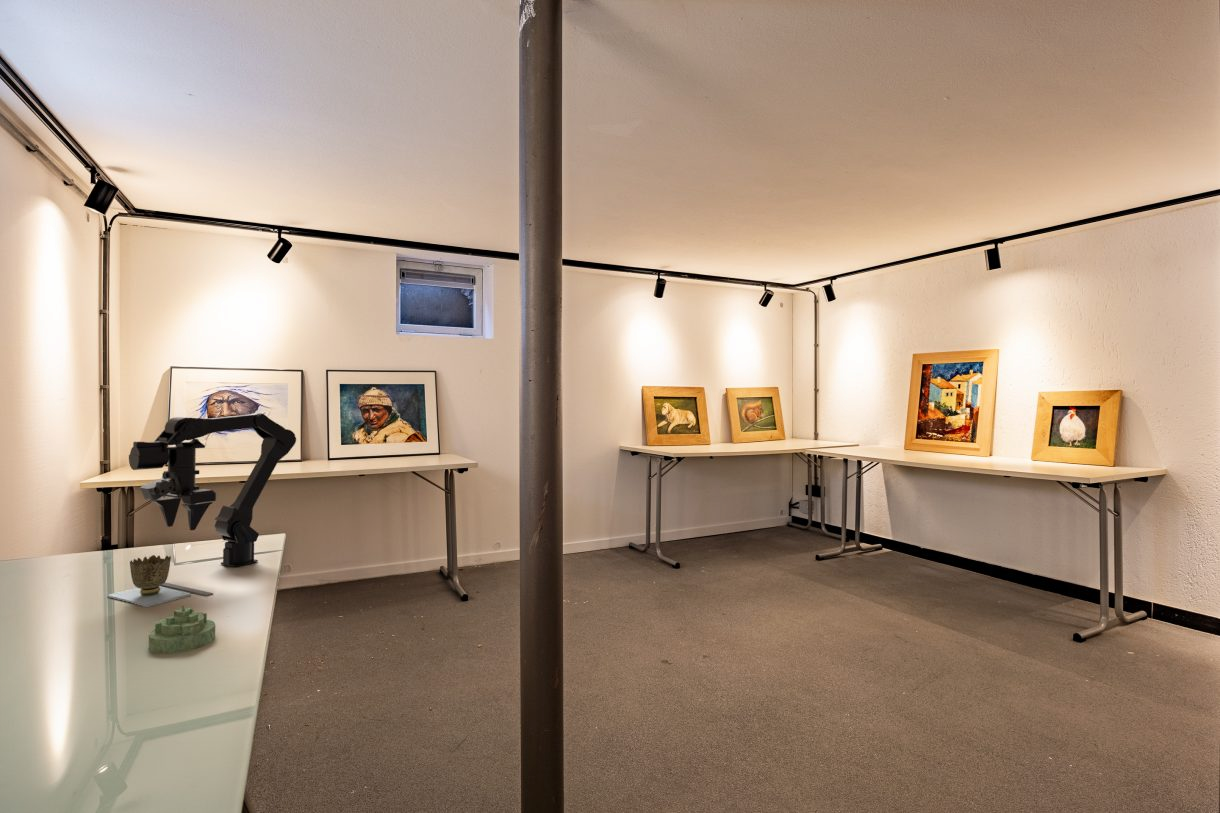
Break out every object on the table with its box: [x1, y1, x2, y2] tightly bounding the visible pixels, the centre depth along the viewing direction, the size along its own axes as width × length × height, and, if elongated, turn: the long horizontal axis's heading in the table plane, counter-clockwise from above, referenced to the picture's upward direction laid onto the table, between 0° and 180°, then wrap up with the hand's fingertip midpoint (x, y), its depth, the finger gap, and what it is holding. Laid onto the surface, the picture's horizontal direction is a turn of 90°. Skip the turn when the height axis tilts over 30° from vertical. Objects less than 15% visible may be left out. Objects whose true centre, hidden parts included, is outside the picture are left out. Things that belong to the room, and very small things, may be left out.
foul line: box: [161, 581, 214, 597], centre depth 142 cm, size 2×22×1 cm, turn 66°
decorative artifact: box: [148, 604, 216, 654], centre depth 111 cm, size 10×7×10 cm
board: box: [106, 586, 192, 608], centre depth 136 cm, size 9×15×1 cm, turn 66°
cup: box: [129, 554, 172, 596], centre depth 136 cm, size 8×7×8 cm
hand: (181, 528), depth 153 cm, fingers open, 9 cm apart
